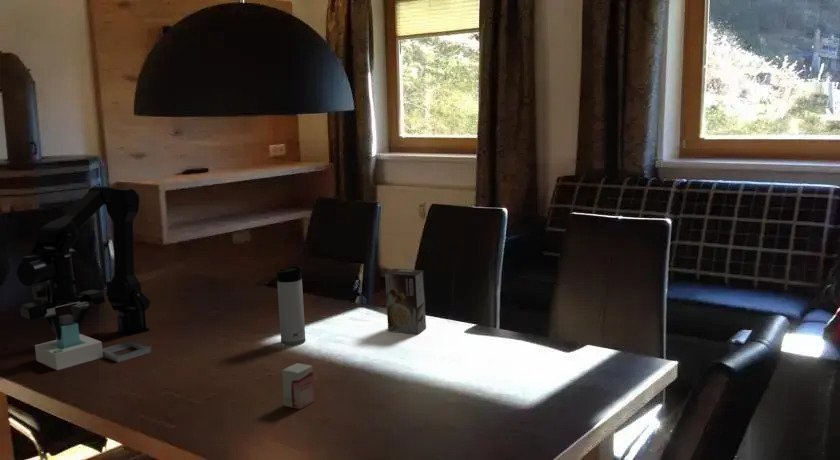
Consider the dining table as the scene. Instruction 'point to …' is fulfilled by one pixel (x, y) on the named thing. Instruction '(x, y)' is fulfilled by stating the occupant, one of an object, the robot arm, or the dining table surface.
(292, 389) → the small box
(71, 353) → the frame
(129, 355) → the open square ring
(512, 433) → the dining table surface
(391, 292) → the coffee box
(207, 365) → the dining table surface
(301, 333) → the travel mug
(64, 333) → the plug
